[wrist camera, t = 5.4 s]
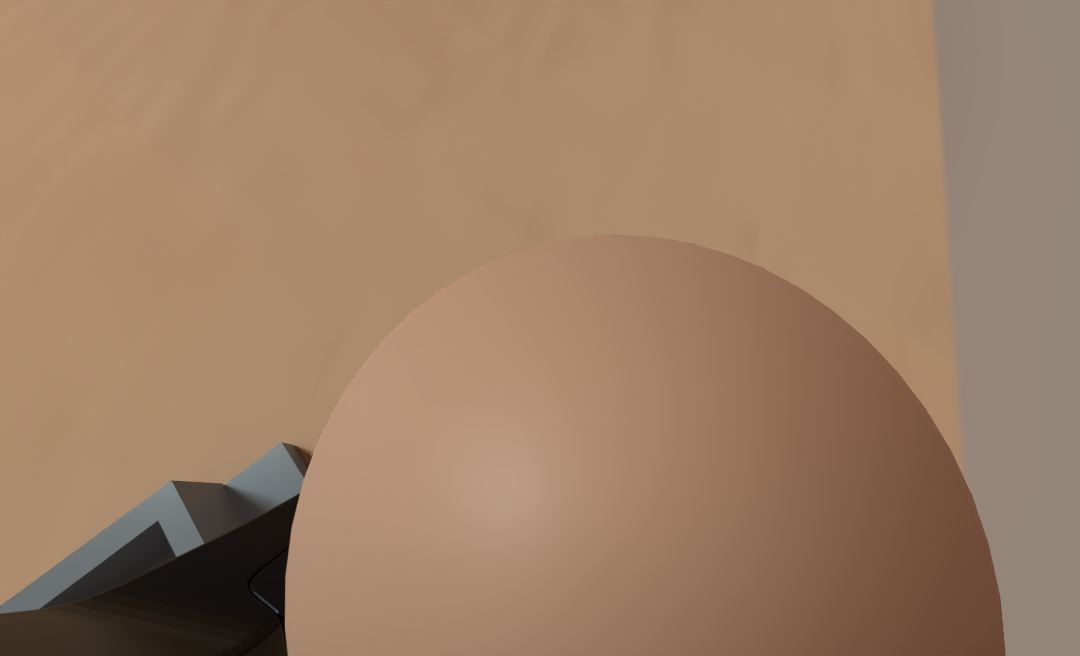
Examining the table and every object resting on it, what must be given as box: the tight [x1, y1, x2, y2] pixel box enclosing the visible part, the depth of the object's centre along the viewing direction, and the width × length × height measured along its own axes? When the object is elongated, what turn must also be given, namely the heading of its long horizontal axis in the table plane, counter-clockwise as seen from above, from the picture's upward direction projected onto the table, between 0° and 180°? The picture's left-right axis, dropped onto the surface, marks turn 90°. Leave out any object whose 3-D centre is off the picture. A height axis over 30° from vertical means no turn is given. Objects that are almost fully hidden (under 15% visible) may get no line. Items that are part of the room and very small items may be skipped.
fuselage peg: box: [285, 235, 1005, 656], centre depth 9 cm, size 4×4×12 cm
